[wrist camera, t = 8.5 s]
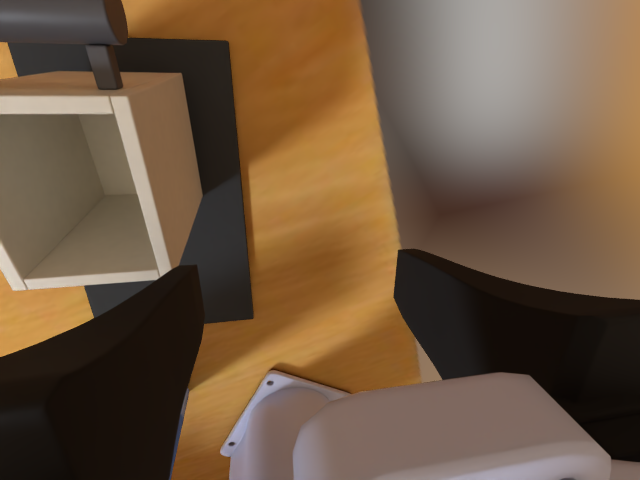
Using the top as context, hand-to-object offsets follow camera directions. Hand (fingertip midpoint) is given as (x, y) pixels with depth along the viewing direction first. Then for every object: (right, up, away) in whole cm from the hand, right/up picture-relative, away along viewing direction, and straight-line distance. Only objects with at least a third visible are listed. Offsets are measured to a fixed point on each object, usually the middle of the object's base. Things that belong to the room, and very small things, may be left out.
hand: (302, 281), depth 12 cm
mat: (-9, +4, +8) cm, 12 cm away
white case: (-8, +2, +4) cm, 9 cm away
